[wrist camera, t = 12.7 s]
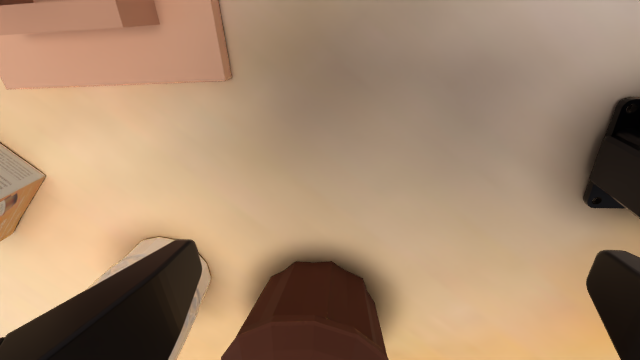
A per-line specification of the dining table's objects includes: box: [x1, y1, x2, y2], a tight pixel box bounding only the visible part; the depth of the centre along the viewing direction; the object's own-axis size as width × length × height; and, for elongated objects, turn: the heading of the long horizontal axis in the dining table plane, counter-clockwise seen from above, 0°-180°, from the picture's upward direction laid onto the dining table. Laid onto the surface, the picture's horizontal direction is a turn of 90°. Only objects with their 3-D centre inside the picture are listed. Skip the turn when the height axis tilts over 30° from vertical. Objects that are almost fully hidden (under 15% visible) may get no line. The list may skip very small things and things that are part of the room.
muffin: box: [221, 261, 388, 360], centre depth 22 cm, size 12×11×10 cm
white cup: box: [86, 237, 211, 360], centre depth 23 cm, size 8×8×10 cm
